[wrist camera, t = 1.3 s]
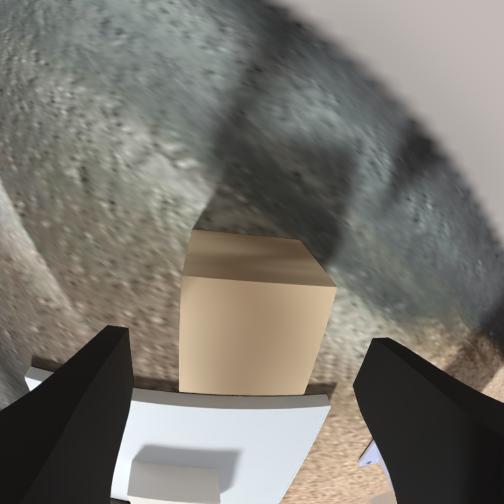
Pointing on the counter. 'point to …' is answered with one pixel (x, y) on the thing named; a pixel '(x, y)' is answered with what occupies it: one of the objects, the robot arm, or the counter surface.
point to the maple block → (250, 314)
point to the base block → (172, 484)
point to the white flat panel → (218, 438)
